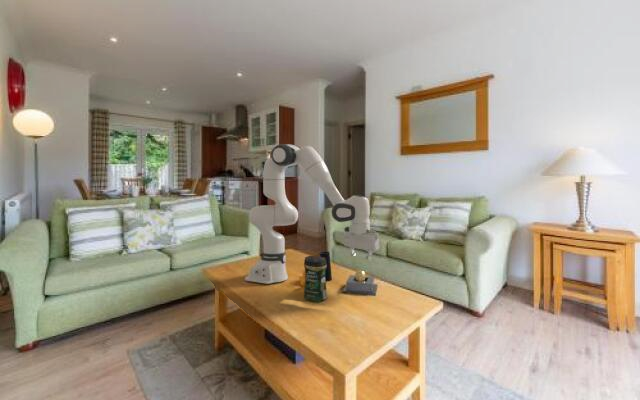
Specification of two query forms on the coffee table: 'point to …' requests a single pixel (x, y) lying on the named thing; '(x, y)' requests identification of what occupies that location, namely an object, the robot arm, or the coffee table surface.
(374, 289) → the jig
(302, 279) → the pipe clamp
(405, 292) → the coffee table surface
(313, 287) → the coffee jar
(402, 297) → the coffee table surface
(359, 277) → the tan cylinder
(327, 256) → the pipe connector
